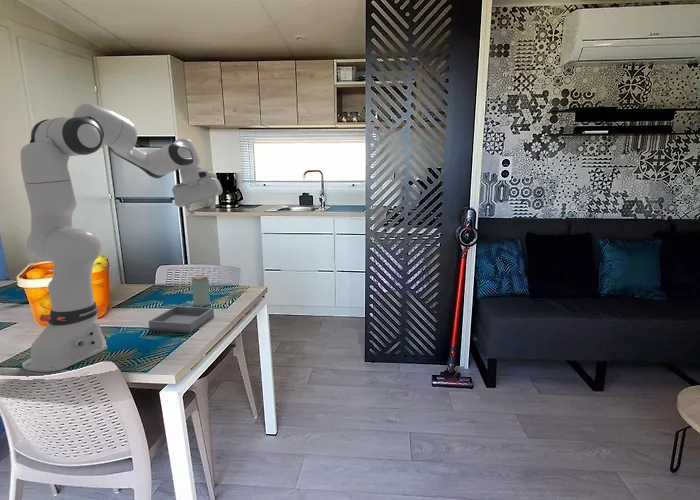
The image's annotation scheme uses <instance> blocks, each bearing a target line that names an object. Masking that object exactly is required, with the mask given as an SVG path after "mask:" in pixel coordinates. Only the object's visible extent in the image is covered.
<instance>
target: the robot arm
mask: <svg viewBox="0 0 700 500" xmlns="http://www.w3.org/2000/svg"><path fill="white" fill-rule="evenodd" d="M137 142H138V132H137V128H136V126H135V124H134V123H133V122H132V121H131V120H129V119H128V118H127V117H124V116H123V115H121V114H119V113H117V112H115V111H113V110H110V109H108V108H106V107H103V106H100V105H97V104H94V103H88V102H86V103H82V104H80V105H78V106H77V107H76V109H75V110H74V112H73V116H72V117H63V116H62V117H55V118H50V119H49V118H48V119H47V118H46V119H43V120H41V121H39V122H37V123H36V124H35V125H34V126H33V127H32V129H31V132H30V140H29V143H28V144H26V145H23V147H22V148H21V150H20V169H21V174H22V180H23V183H24V189H25V193H26V195H27V200H28V203H29V207H30V216H31V217H30V222H31V224H30V225H31V226H30V233H29V235H28V237H27V240H26V245H27V249H28V251H29V252H30V253H31V254H32V255H34V256H35V257H36V258H37V259H38V258H39V259H40V260H43V262H44V261H45V262H49V263H50V262H51V263H52V264H53V273H52V277H51V278H52V279H51V280H50V281H49V283H48V285H47V288H48V291H49V300H50V305H51V306H50V307H51V309H50V312H49V314H44V313H43V314H41V315H40V316H39V321H40V322H47V325H46V326H45V327H44V329H43V330H42V331H41V333H40V334H38V336H37V337H36V339H35V340H34V341H33V342H32V343H31V346H30V357H29V358H28V359H27V360H25V361H23V362H21V368H22V369H23V370H26V371H31V372H39V373H40V372H42V373H43V372H45V373H49V372H57V371H62V370H65V369H67V368H69V367H71V366H73V365H76V364H78V363H80V362H81V361H84V360H86V359H89V358H90V357H93V356H95V355H97V354H99V353H102V352H104V351H106V350H108V345H107V339H106V338H105V337H104V335H103V332H102V328H101V325H100V322H99V320H98V315H97V314H98V306H97V302H96V301H95V299H94V290H92V289H93V285H92V284H93V283H92V281H93V279H92V276H93V275H92V274H93V268H94V265H95V261H96V260H97V259H98V258H99V257H100V254H101V252H102V244H101V241H100V239H99V238H98V237H97V235H94V234H93V233H91V232H89V231H86V230H84V229H82V228H73V223H72V222H73V221H72V220H73V213H74V211H75V209H76V207H77V201H76V195H75V191H74V188H73V184H72V179H71V174H70V171H69V169H68V163H69V159H70V157H75V156H76V157H77V156H86V155H91V154H93V153H95V152H97V151H98V150H100V148H101V147H102V146H103V145H105V146H107V147H109V150H110V151H111V152H112V153H113V154H115V156H118V158H121V159H123V160H124V161H126V162H128V163H130V164H131V165H133V166H135V167H137V168H139V169H141V170H142V171H143V172H145V174H147V175H148V176H150V177H152V178H154V179H161V178H163V177H165V176H166V175H167V174H171V173H172V172H175V171H177V170H179V174H180V178H181V181H182V182H180V183H178V184H174V186H173V187H172V188H171V189H172V190H171V191H172V193H173V199H174V204H175V206H177V207H179V208H183V207H184V208H185V209H186V210H187V211H188V214H189V215H190V216H193V215H196V212H195V210H194V209H192V208H191V205H193V204H196V203H199V202H201V201H206V200H208V199H210V200H211V202H210V203H209V205H208V206H209V208H210V209H216V204H215V203H216V200H217V199H216V197H217V196H220V195H222V194H223V187H222V184H221V182H220V181H219V179H218V178H217V174H216V173H215V172H213V171H208V170H207V171H206V170H205V171H204V169H203V168H202V165H201V162H200V161H201V159H200V156H199V152H198V150H197V147H196V145H195V143H194V142H193V141H192V140H191V139H189V138H178V139H175V140H174V141H173V143H169V144H167V145H164V146H163V147H160V148H158V149H156V150H153V151H151V152H144V151H142V150H140V149H139V148H137V147H136V144H137ZM102 144H103V145H102Z"/></svg>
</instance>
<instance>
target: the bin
mask: <svg viewBox="0 0 700 500" xmlns="http://www.w3.org/2000/svg"><path fill="white" fill-rule="evenodd" d="M214 317H215V312H214V307H198V306H186V305H185V306H183V305H182V306H181V305H175V306H173V307H171V308H169V309H167V310H166V311H164V312H163V313H160V314H159V315H158V316H157V315H156V316H155V317H153V318H152V319H149V320H148V322H147V323H148V331H150V332H163V333H179V334H192V333H194V332H195V331H196V330H198V329H199V328H200V327H202V326H204V325H205V324H206V323H209V322H210V320H212V319H214Z"/></svg>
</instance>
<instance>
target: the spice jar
mask: <svg viewBox="0 0 700 500" xmlns="http://www.w3.org/2000/svg"><path fill="white" fill-rule="evenodd" d="M191 287H192V297H193V299H192V300H193V306H194V305H195V306H194V307H203V306H204V307H206V306H209V305H211V295H210V284H209V278H208V276H206V275H203V274H202V275H197V276H196V275H195V276H193V277H192V279H191ZM204 307H203V308H204Z"/></svg>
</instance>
